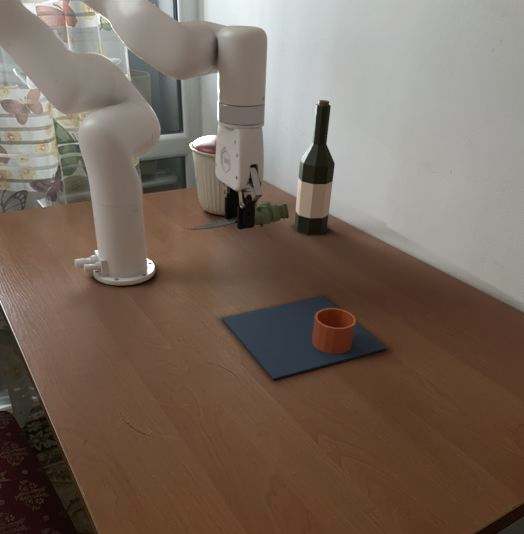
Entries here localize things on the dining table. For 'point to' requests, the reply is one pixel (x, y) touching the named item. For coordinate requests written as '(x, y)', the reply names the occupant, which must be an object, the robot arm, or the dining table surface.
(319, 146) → the wine bottle
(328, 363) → the mat
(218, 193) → the canister
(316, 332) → the ramekin
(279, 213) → the knife
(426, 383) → the dining table surface
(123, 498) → the dining table surface
